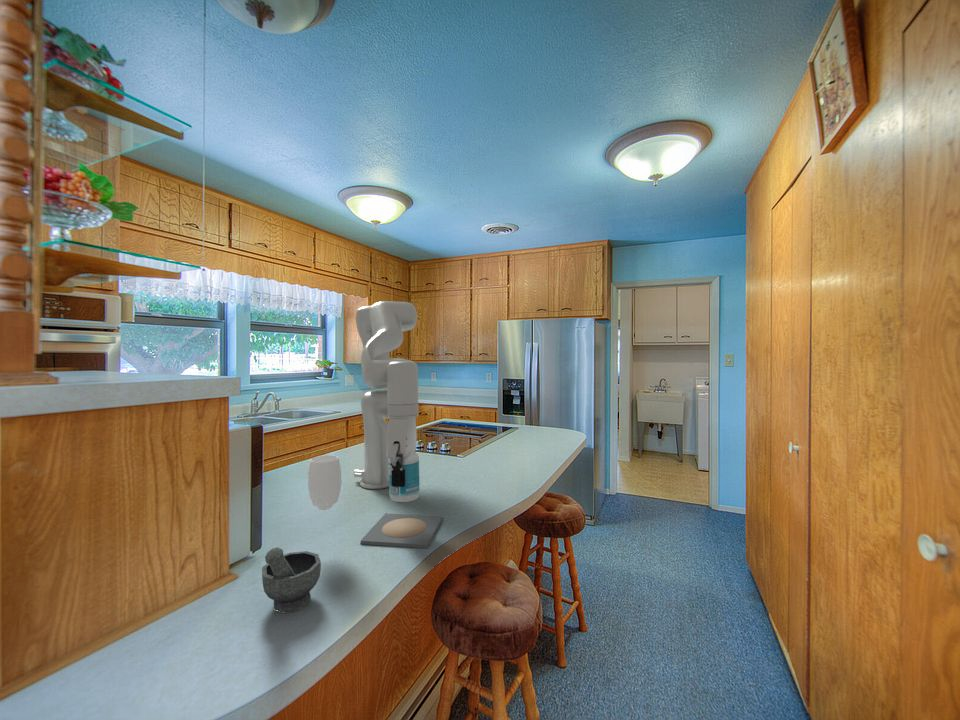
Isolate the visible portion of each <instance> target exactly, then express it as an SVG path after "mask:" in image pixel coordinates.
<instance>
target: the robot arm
mask: <svg viewBox="0 0 960 720" xmlns="http://www.w3.org/2000/svg"><path fill="white" fill-rule="evenodd" d="M355 323H356V324H355V326H356V330H357V332H358V335H359V338H360V340H361V342H362V347H363V349H362V351H361V357H360V360H361V361H360V365H361V373H362V378H363V382H364V384H365V386H366V387H368V388H369V389H373V390H371V391H370V390H369V391H366V393H364V394H363V395H362V396H361V399H360V408H361V413H362V422H363V441H364V442H363V444H364V445H363V449H364V453H363V456H364V460H363V461H364V464H363V465H364V468H363V470H361V469H354V471H353V476H354V478H360V481H359V485H360V486H361V488H364V489H368V490H369V489H370V490H379V489H380V490H381V489H387V488H389V459H390V461H391V470H392V486H393V487H404V486H405V470H403V469H404V463H405V459H406V458H407V457H409V455H410V454H411V452H412V451H413V452H416V451H417V447H418V446H417V441H418V439H417V438H418V436H417V433H418V432H417V417H419V369H418V368H419V367H418V364H417V363H416V361H412V360H411V359H406V358H399V357H398V358H392V357H390V352H392V351H394V350H396V349H398V348H399V347H400V346H401V345H402V344H403V341H404V332H407V331H411V330H413V329H415V327H416V325H417V323H418V312H417V309H416V307H415V306H414V304H413V303H411V302H409V301H408V302H407V301H390V300H388V301H387V300H382V301H377V302H375V303H373V304H372V305H365V306H361V307H359V308H358V309H357V310H356V311H355ZM377 389H379V390H377ZM380 389H381V390H380ZM386 419H388V422H387V421H386ZM412 445H413V450H412V449H411V448H412ZM398 455H403V456H402V457H397V456H398ZM397 460H401V465H400V462H399V461H397Z"/></svg>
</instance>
